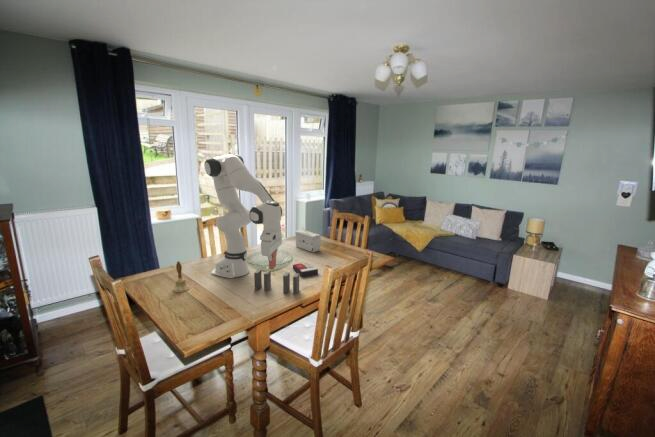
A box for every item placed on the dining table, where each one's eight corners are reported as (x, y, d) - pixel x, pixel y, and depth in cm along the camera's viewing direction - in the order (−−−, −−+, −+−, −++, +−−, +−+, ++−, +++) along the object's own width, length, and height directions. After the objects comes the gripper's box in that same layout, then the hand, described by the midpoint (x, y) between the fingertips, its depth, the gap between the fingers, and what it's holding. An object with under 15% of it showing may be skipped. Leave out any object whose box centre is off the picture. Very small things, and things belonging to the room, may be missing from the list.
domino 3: (269, 269, 159) (268, 250, 157) (272, 265, 164) (272, 247, 161) (272, 269, 159) (272, 251, 156) (276, 265, 164) (276, 248, 161)
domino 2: (264, 290, 169) (263, 273, 166) (267, 286, 173) (267, 270, 171) (267, 291, 168) (267, 274, 166) (270, 287, 173) (270, 270, 171)
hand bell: (181, 293, 163) (178, 265, 159) (169, 290, 166) (166, 263, 162) (193, 287, 171) (190, 260, 167) (181, 284, 174) (178, 257, 170)
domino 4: (283, 293, 167) (283, 275, 164) (286, 288, 172) (286, 272, 169) (286, 293, 166) (286, 276, 164) (289, 289, 171) (289, 272, 169)
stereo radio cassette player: (320, 250, 234) (321, 225, 230) (313, 253, 228) (313, 227, 224) (301, 244, 248) (302, 220, 243) (294, 247, 242) (294, 222, 237)
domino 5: (293, 294, 166) (293, 276, 163) (295, 289, 171) (295, 273, 168) (296, 294, 165) (296, 277, 163) (299, 290, 170) (299, 273, 168)
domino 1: (254, 289, 170) (254, 272, 167) (258, 285, 174) (257, 269, 172) (258, 290, 169) (257, 273, 167) (261, 286, 174) (261, 269, 172)
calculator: (308, 261, 204) (318, 268, 191) (308, 267, 205) (318, 274, 192) (292, 263, 199) (301, 271, 186) (292, 270, 200) (301, 278, 187)
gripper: (273, 227, 167) (274, 251, 171) (258, 237, 148) (258, 264, 151) (284, 228, 166) (284, 252, 169) (270, 239, 147) (271, 266, 150)
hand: (272, 258), depth 160 cm, fingers closed on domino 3, 5 cm apart
